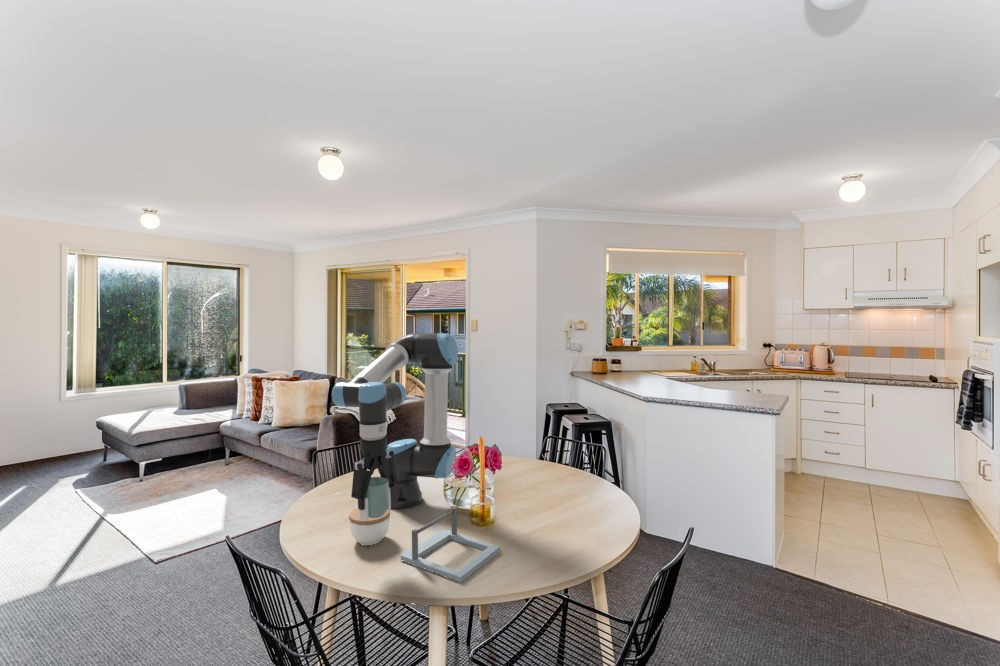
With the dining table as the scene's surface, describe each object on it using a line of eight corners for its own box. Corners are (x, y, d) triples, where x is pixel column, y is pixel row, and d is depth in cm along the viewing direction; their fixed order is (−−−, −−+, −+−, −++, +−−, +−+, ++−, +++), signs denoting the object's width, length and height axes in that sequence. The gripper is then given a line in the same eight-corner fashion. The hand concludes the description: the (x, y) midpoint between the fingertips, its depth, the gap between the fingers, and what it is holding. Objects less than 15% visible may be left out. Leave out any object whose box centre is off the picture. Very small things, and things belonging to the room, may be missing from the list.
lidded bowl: (369, 554, 146) (368, 518, 145) (341, 543, 152) (340, 509, 152) (398, 537, 156) (398, 503, 156) (371, 528, 163) (370, 496, 162)
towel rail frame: (400, 560, 142) (400, 526, 141) (443, 533, 159) (443, 503, 158) (460, 582, 130) (460, 546, 130) (500, 551, 147) (500, 519, 146)
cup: (382, 522, 136) (381, 487, 135) (356, 520, 137) (355, 485, 136) (393, 510, 143) (392, 477, 142) (369, 508, 145) (368, 475, 144)
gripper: (353, 448, 128) (356, 531, 129) (408, 430, 145) (410, 503, 147) (335, 444, 132) (337, 525, 133) (390, 426, 149) (392, 498, 151)
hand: (375, 513), depth 140 cm, fingers closed on cup, 8 cm apart
